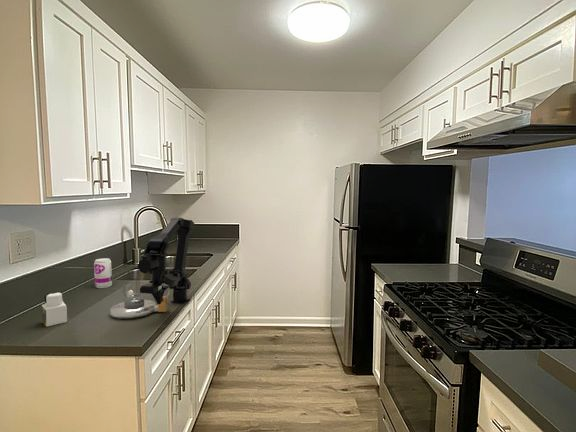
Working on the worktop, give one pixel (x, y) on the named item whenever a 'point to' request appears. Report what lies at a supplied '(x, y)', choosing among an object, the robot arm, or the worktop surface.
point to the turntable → (148, 308)
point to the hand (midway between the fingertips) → (159, 304)
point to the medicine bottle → (54, 309)
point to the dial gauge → (131, 294)
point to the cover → (134, 302)
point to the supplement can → (103, 273)
